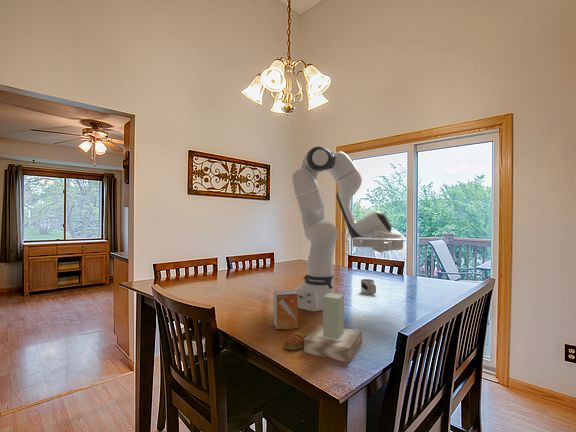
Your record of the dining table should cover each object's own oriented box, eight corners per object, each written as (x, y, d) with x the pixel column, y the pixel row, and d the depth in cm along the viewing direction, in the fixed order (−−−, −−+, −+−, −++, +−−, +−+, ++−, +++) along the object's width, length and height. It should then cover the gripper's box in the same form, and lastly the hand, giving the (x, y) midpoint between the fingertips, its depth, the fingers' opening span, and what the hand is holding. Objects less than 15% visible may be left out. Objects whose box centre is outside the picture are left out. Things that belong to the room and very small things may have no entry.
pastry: (296, 354, 90) (296, 341, 90) (278, 348, 94) (278, 336, 94) (313, 343, 98) (313, 331, 98) (296, 338, 102) (296, 327, 102)
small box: (276, 330, 108) (276, 294, 108) (273, 324, 114) (273, 290, 114) (298, 328, 110) (298, 293, 110) (294, 322, 116) (293, 289, 116)
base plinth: (304, 352, 91) (304, 338, 91) (321, 335, 103) (321, 323, 103) (349, 362, 85) (349, 347, 85) (361, 343, 97) (361, 330, 97)
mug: (358, 291, 163) (358, 279, 163) (368, 290, 165) (368, 278, 165) (370, 296, 153) (370, 283, 153) (380, 295, 156) (380, 282, 156)
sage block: (323, 335, 93) (323, 296, 93) (328, 330, 97) (328, 292, 97) (338, 338, 91) (338, 298, 91) (343, 332, 95) (343, 294, 95)
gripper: (356, 233, 135) (347, 235, 123) (405, 234, 125) (400, 236, 113) (356, 247, 135) (347, 251, 123) (405, 249, 125) (401, 253, 113)
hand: (373, 244), depth 118 cm, fingers open, 8 cm apart
